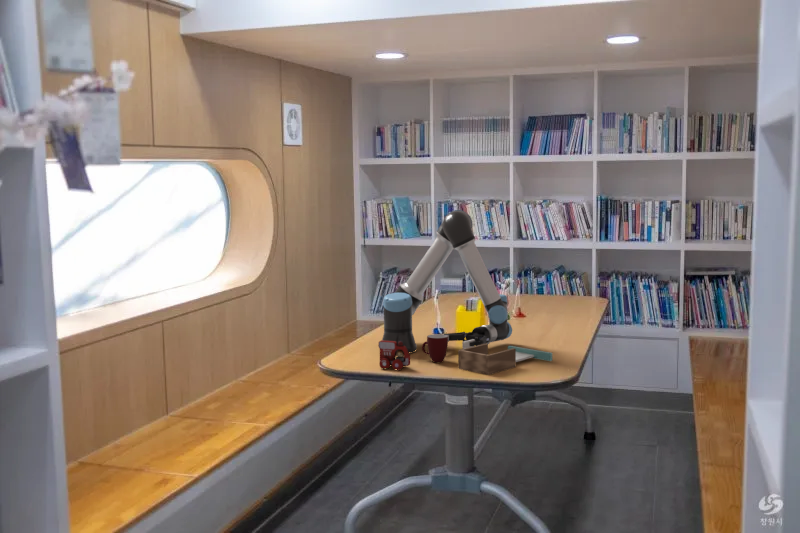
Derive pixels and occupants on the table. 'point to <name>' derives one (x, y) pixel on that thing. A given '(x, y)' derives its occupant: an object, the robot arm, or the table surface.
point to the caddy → (486, 359)
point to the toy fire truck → (393, 354)
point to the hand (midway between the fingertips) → (449, 343)
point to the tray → (530, 354)
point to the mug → (436, 347)
